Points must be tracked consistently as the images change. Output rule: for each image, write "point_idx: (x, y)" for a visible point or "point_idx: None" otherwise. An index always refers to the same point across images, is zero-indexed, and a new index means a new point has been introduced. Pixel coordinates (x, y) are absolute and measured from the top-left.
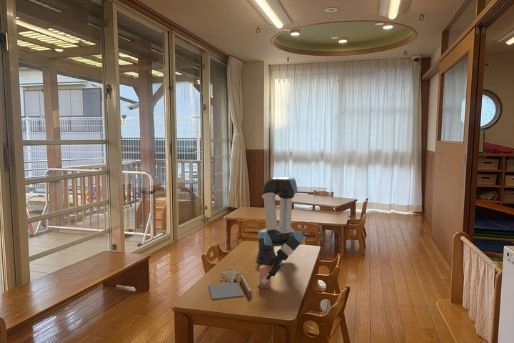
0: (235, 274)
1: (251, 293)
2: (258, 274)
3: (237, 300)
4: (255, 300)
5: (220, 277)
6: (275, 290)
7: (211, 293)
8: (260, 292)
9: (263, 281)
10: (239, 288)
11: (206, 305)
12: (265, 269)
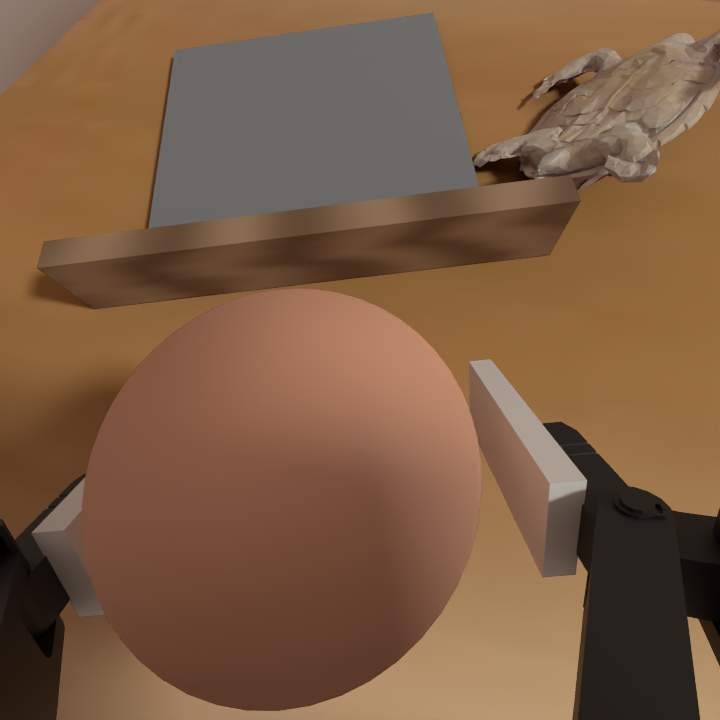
0: (604, 135)
1: (61, 284)
2: (475, 384)
3: (95, 199)
4: (21, 337)
5: (587, 55)
6: None
7: (269, 40)
8: None
9: None
10: None
11: (112, 40)
12: (104, 448)
